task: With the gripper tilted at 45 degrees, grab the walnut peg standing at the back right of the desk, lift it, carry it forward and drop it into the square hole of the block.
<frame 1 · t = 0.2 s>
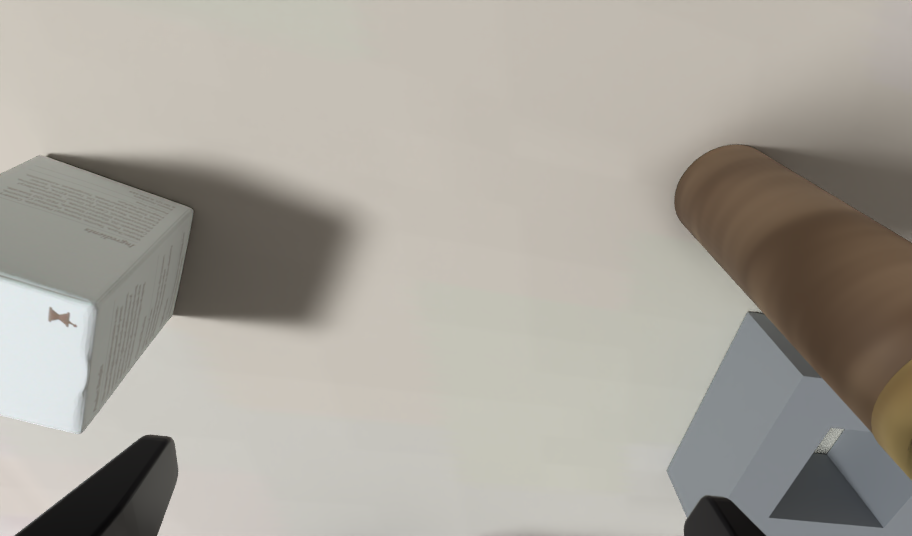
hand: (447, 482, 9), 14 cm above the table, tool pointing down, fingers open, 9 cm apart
product box: (115, 239, 23), on the table
socket block: (801, 409, 28), on the table
peg: (723, 192, 22), on the table
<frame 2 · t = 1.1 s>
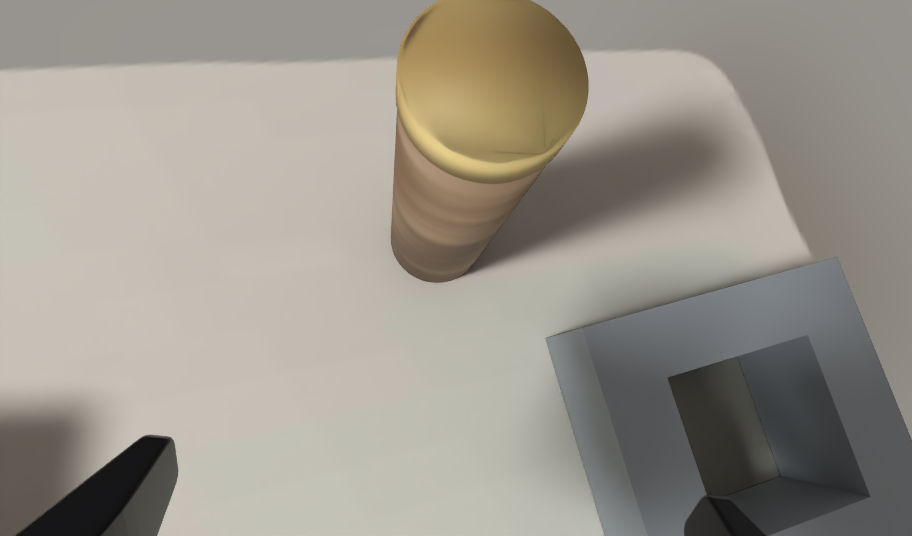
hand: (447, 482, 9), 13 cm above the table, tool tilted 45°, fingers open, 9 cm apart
socket block: (697, 427, 24), on the table
peg: (436, 238, 24), on the table
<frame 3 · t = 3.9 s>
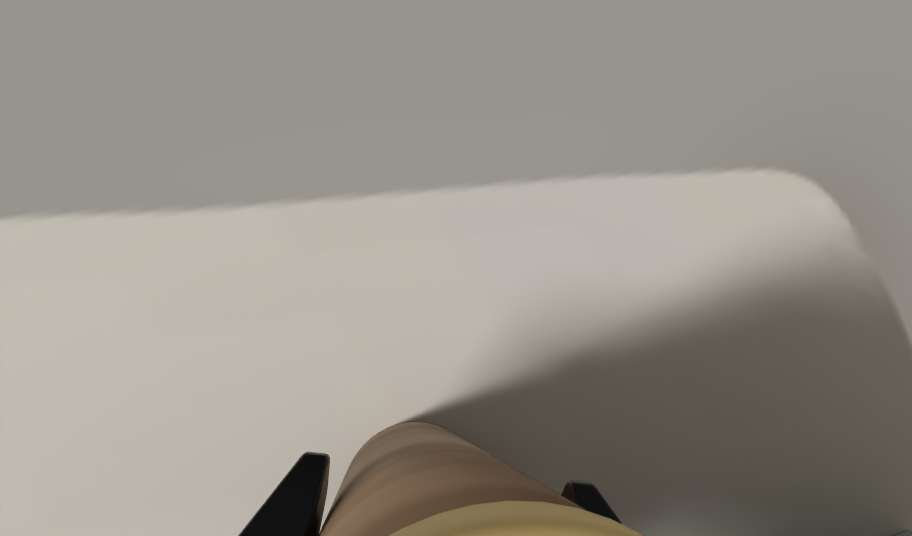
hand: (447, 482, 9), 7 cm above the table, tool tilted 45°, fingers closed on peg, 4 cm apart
peg: (414, 495, 15), on the table, touching gripper
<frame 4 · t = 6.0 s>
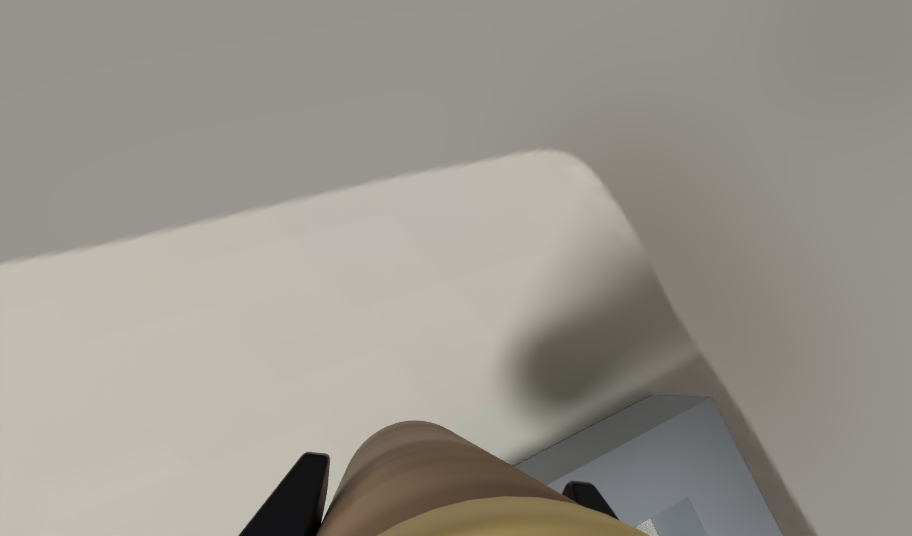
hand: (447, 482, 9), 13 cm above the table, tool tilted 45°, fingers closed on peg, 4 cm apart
peg: (413, 494, 15), point 7 cm above the table, touching gripper
when the fingers open (9 cm above the table, at t = 8.0 s): peg drops 2 cm, resting in socket block.
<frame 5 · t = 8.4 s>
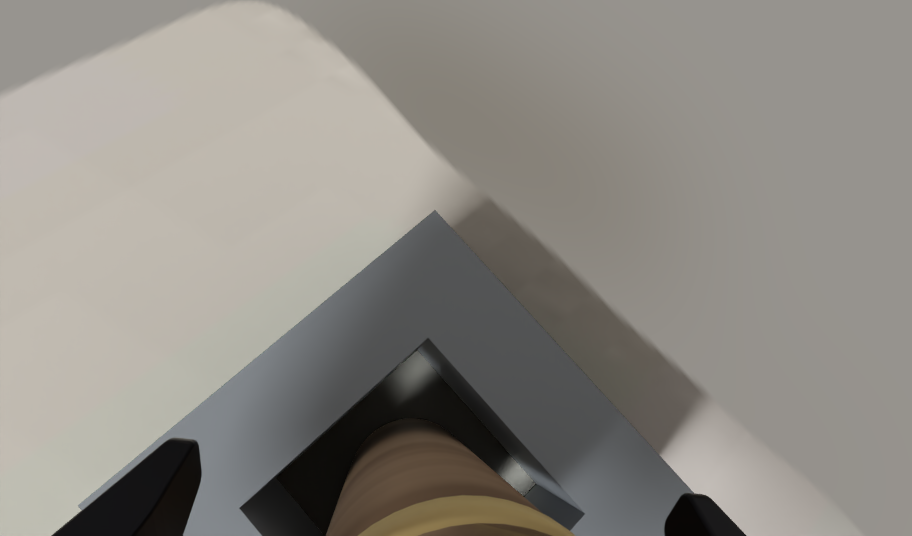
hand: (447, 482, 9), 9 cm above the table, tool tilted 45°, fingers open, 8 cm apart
socket block: (409, 480, 18), on the table
peg: (410, 481, 17), resting in socket block
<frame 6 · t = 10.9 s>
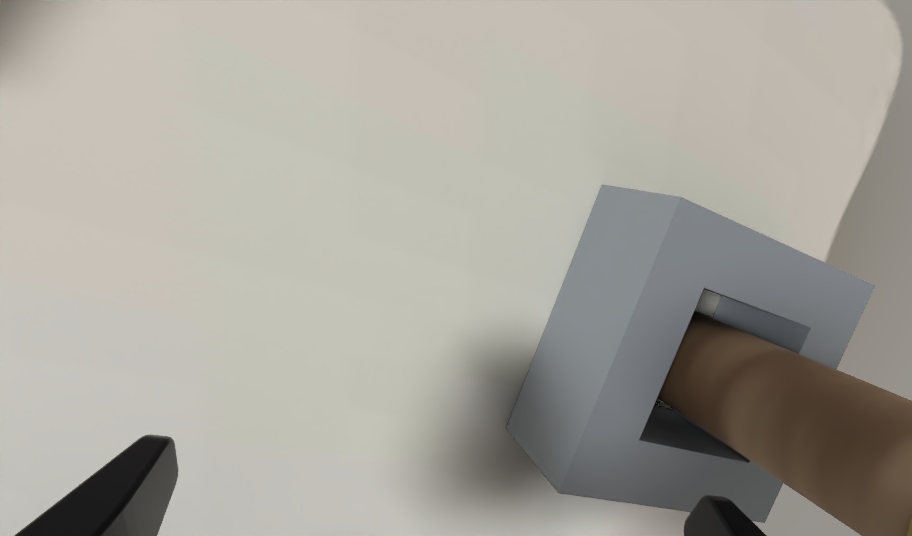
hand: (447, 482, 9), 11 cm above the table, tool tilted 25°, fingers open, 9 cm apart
socket block: (650, 339, 25), on the table
peg: (649, 340, 25), resting in socket block
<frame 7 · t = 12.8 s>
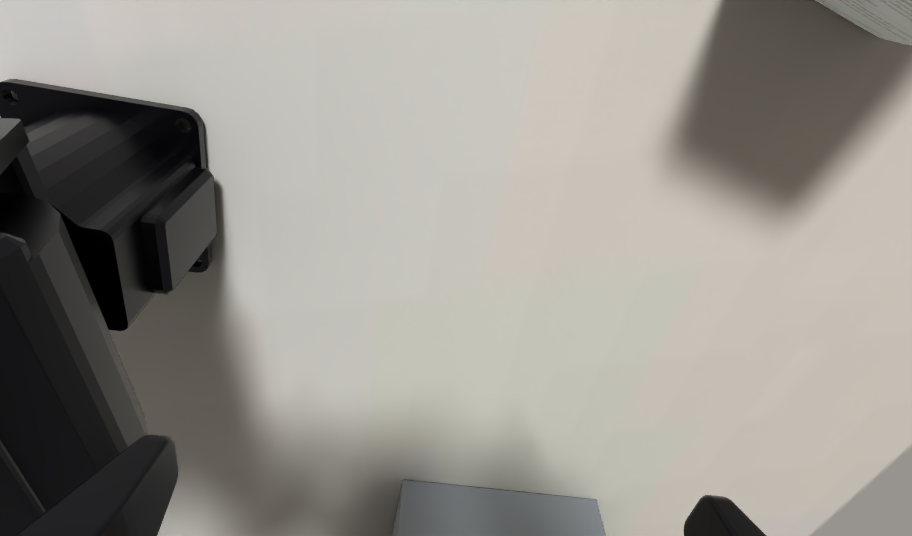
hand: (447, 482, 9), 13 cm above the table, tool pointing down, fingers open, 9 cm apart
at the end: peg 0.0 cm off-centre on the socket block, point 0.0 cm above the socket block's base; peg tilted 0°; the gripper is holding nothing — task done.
